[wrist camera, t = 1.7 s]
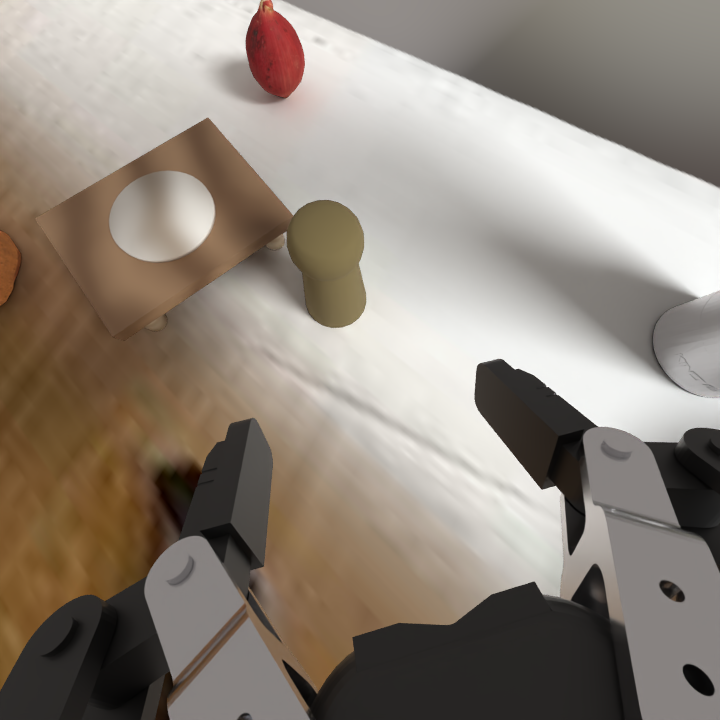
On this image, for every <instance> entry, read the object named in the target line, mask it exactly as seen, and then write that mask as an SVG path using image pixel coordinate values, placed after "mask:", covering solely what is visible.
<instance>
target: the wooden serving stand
mask: <svg viewBox="0 0 720 720" xmlns="http://www.w3.org/2000/svg"><path fill="white" fill-rule="evenodd" d="M292 217H293V215H292V214H291V213H290V211H289V210H288V209H287V208H286V207H285V206H284V204H283V203H282V202H281V201H280V200H279V199H278V198H277V196H276V195H275V194H274V193H273V192H272V191H271V189H270V188H269V187H268V186H267V185H266V184H265V183H264V181H263V180H262V179H261V178H260V177H259V176H258V174H257V173H256V172H255V171H254V170H253V169H252V168H251V166H250V165H249V164H248V163H247V162H246V161H245V159H244V158H243V157H242V156H241V155H240V154H239V153H238V151H237V150H236V149H235V148H234V147H233V146H232V144H231V143H230V142H229V141H228V140H227V139H226V138H225V136H224V135H223V134H222V133H221V132H220V131H219V129H218V128H217V127H216V126H215V125H214V124H213V123H212V121H211V120H210V119H209V118H206V119H204V120H203V121H201V122H199V123H198V124H196V125H194V126H192V127H191V128H189V129H187V130H186V131H184V132H182V133H180V134H179V135H177V136H175V137H174V138H172V139H170V140H168V141H167V142H165V143H163V144H162V145H160V146H158V147H156V148H155V149H153V150H151V151H150V152H148V153H146V154H144V155H143V156H141V157H139V158H138V159H136V160H134V161H132V162H131V163H129V164H127V165H126V166H124V167H122V168H120V169H119V170H117V171H115V172H114V173H112V174H110V175H108V176H107V177H105V178H103V179H102V180H100V181H98V182H96V183H95V184H93V185H91V186H90V187H88V188H86V189H84V190H83V191H81V192H79V193H78V194H76V195H74V196H73V197H71V198H69V199H67V200H66V201H64V202H62V203H61V204H59V205H57V206H55V207H54V208H52V209H50V210H49V211H47V212H45V213H43V214H42V215H40V216H38V217H37V218H35V219H36V221H37V222H38V224H39V225H40V227H41V229H42V230H43V232H44V233H45V235H46V236H47V238H48V239H49V241H50V242H51V244H52V245H53V247H54V248H55V250H56V251H57V253H58V255H59V256H60V258H61V259H62V261H63V262H64V264H65V265H66V267H67V268H68V270H69V271H70V273H71V274H72V276H73V277H74V279H75V281H76V282H77V284H78V285H79V287H80V288H81V290H82V291H83V293H84V294H85V296H86V297H87V299H88V300H89V302H90V303H91V305H92V307H93V308H94V310H95V311H96V313H97V314H98V316H99V317H100V319H101V320H102V322H103V323H104V325H105V326H106V328H107V329H108V331H109V333H110V334H111V336H112V337H114V338H117V339H120V340H123V341H125V340H126V339H128V338H129V337H131V336H132V335H134V334H135V333H137V332H138V331H140V330H141V329H143V328H147V329H149V330H151V331H160V330H162V329H163V328H164V327H165V326H166V324H167V316H166V315H165V313H166V312H168V311H169V310H171V309H172V308H174V307H175V306H177V305H178V304H180V303H181V302H183V301H184V300H185V299H187V298H188V297H190V296H191V295H193V294H194V293H196V292H197V291H199V290H200V289H202V288H203V287H205V286H206V285H208V284H209V283H211V282H212V281H214V280H215V279H216V278H218V277H219V276H221V275H222V274H224V273H225V272H227V271H228V270H230V269H231V268H233V267H234V266H236V265H237V264H239V263H240V262H242V261H243V260H245V259H246V258H247V257H249V256H250V255H252V254H253V253H255V252H256V251H258V250H259V249H261V248H262V247H264V246H265V245H266V246H267V247H268V248H269V249H271V250H278V249H280V248H282V247H283V245H284V243H285V239H284V236H283V233H284V232H286V231H287V229H288V226H289V223H290V221H291V219H292Z"/></svg>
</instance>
